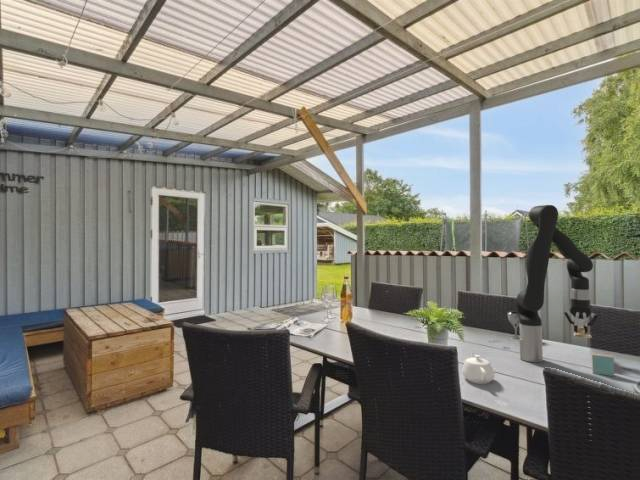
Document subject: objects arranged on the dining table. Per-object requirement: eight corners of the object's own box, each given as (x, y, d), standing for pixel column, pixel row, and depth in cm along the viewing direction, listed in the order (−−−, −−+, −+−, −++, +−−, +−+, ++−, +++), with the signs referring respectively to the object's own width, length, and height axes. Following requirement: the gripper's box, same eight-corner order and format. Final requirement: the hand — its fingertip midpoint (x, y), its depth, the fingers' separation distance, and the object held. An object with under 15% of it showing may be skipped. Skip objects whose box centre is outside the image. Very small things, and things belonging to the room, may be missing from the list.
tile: (593, 373, 144) (592, 354, 144) (592, 371, 146) (591, 353, 146) (614, 376, 140) (613, 357, 140) (613, 374, 142) (612, 355, 142)
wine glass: (525, 337, 198) (524, 311, 199) (522, 340, 193) (521, 314, 193) (510, 334, 204) (509, 310, 204) (506, 337, 198) (506, 312, 198)
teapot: (456, 369, 152) (456, 347, 152) (485, 370, 150) (485, 348, 150) (468, 388, 132) (467, 363, 132) (502, 390, 130) (501, 364, 130)
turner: (575, 336, 157) (575, 328, 157) (571, 333, 171) (571, 325, 171) (591, 338, 154) (591, 330, 154) (586, 334, 167) (586, 327, 168)
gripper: (563, 298, 164) (563, 333, 164) (599, 300, 157) (600, 337, 157) (562, 295, 170) (562, 329, 170) (597, 298, 163) (597, 333, 163)
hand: (580, 333), depth 163 cm, fingers closed on turner, 2 cm apart
